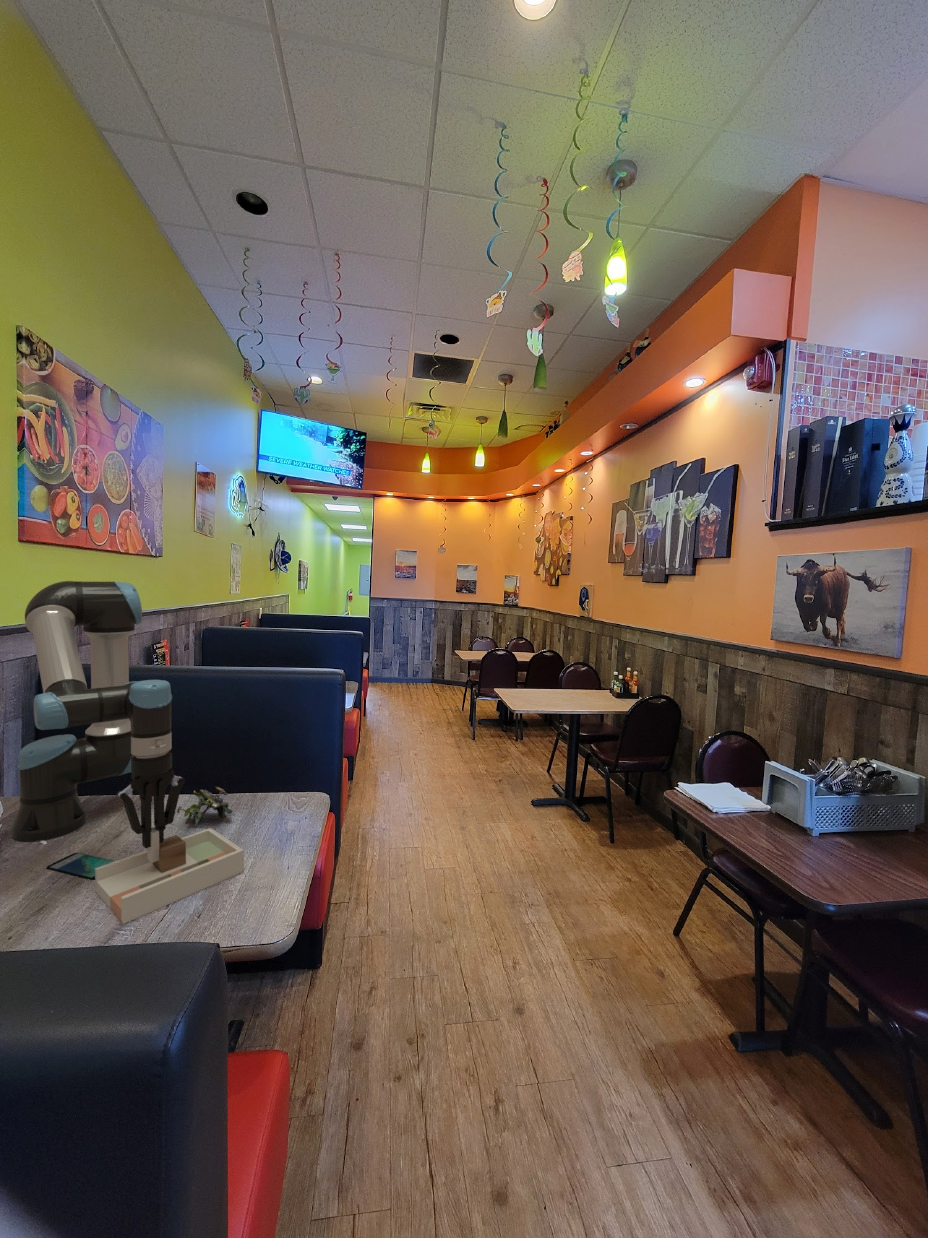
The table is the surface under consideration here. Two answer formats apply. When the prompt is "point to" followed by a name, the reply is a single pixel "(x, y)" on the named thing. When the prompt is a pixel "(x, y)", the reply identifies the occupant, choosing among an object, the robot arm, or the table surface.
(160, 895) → the tray
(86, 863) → the smartphone
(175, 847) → the walnut block
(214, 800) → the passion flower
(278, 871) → the table surface
